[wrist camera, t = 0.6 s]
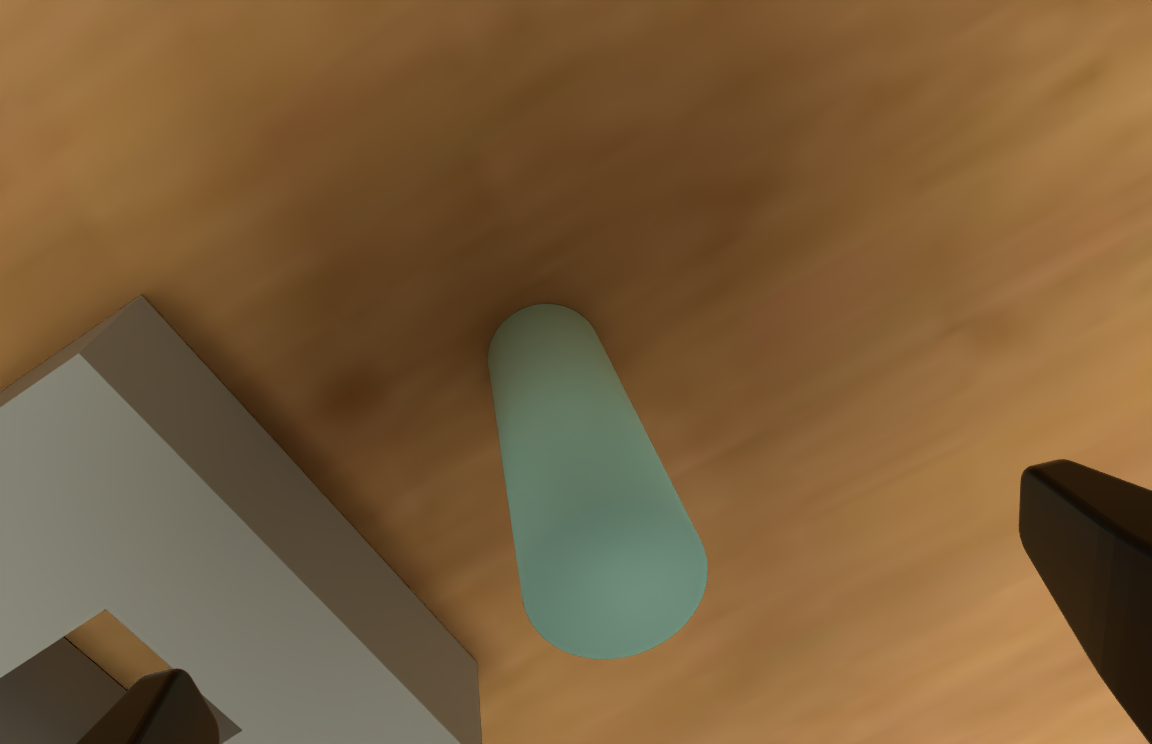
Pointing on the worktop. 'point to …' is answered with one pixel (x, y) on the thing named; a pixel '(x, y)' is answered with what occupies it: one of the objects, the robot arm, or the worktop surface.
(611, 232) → the worktop surface
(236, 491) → the hole block
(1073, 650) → the worktop surface
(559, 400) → the peg
